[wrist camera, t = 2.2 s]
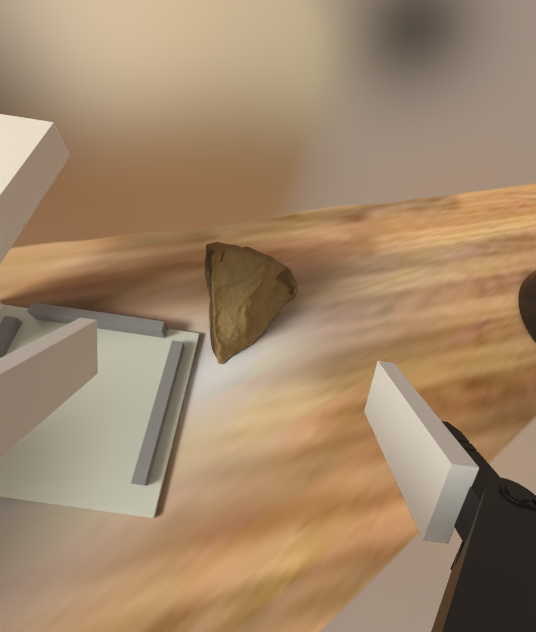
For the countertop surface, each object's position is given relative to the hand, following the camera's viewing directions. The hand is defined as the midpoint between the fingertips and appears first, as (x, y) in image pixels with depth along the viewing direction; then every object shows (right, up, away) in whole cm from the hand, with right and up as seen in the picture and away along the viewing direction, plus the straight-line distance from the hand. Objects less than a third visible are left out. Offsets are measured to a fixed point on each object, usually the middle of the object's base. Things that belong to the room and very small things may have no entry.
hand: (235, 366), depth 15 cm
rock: (0, +2, +18) cm, 18 cm away
